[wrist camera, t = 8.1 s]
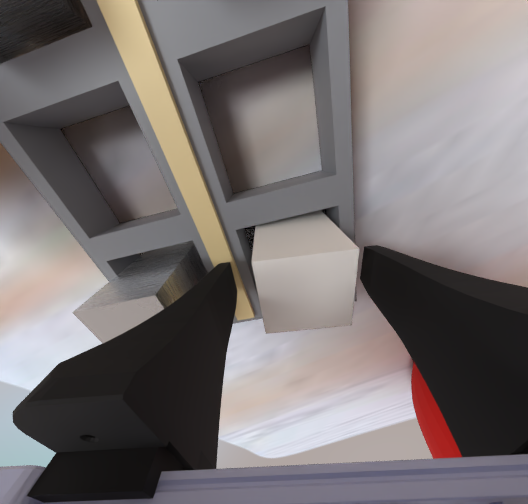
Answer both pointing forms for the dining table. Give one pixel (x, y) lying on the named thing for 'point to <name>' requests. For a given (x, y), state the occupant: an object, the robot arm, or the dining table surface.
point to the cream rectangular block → (304, 273)
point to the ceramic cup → (432, 420)
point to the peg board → (178, 123)
